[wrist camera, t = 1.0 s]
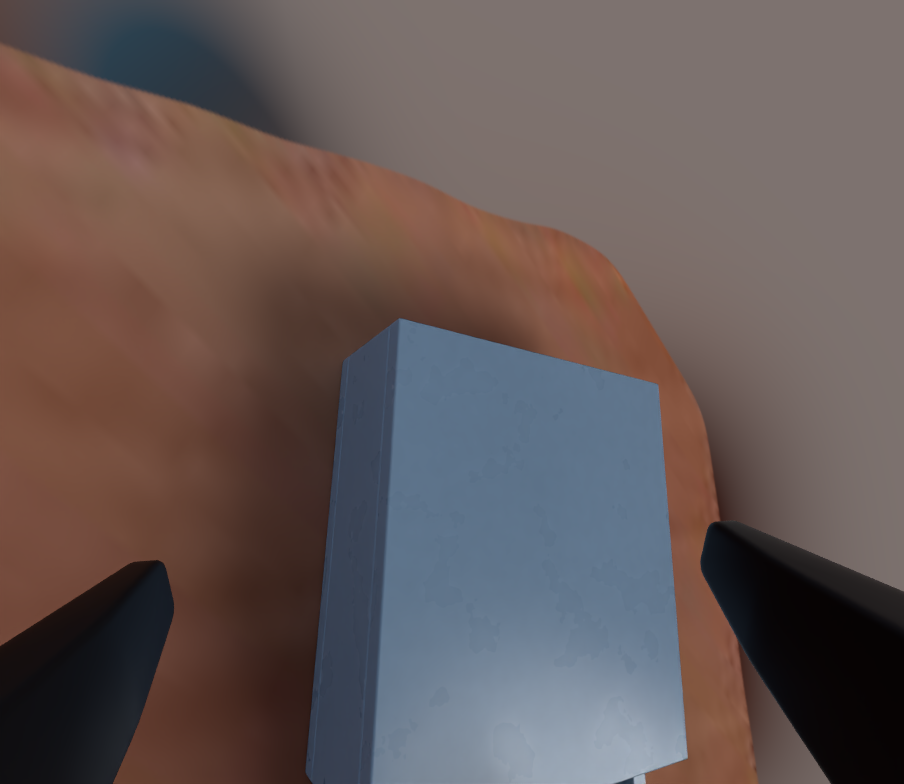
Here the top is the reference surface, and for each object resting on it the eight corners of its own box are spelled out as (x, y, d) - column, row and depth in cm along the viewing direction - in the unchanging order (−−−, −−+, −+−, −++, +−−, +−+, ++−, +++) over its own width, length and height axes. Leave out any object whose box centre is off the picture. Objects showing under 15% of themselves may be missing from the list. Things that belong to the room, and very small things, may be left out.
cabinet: (581, 710, 26) (688, 759, 21) (304, 773, 19) (364, 872, 14) (571, 405, 30) (658, 383, 25) (342, 360, 23) (399, 316, 18)
